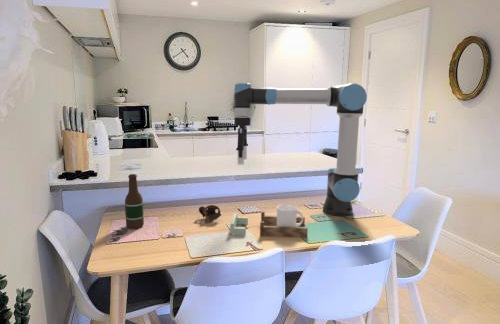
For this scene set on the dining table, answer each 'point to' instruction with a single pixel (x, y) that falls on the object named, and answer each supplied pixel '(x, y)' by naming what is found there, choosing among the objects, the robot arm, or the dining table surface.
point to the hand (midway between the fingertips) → (242, 161)
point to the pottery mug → (210, 212)
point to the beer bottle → (134, 205)
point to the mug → (287, 216)
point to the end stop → (236, 221)
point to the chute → (281, 227)
